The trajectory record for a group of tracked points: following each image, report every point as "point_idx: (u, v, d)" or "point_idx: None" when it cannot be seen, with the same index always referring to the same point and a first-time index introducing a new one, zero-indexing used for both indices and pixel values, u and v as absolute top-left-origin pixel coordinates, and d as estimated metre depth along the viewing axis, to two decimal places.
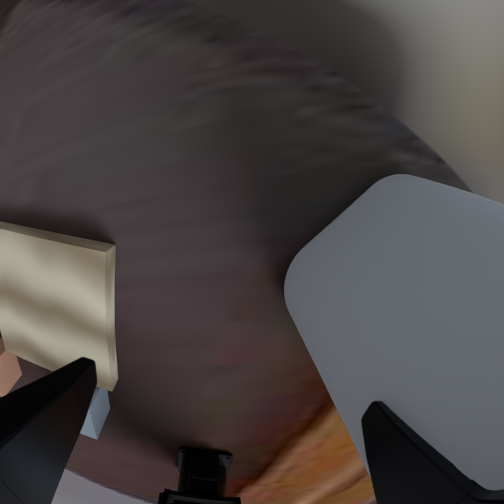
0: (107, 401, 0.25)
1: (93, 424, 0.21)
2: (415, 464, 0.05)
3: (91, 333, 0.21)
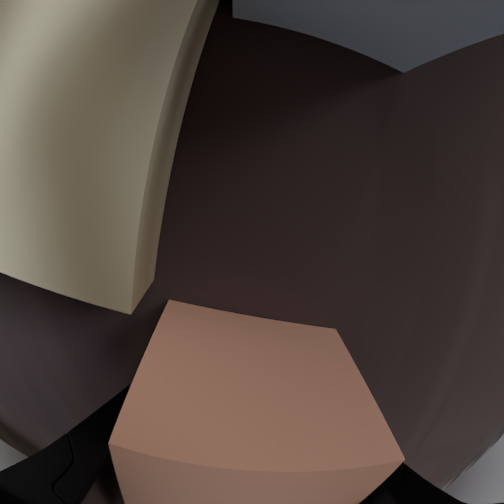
0: None
1: None
2: None
3: None
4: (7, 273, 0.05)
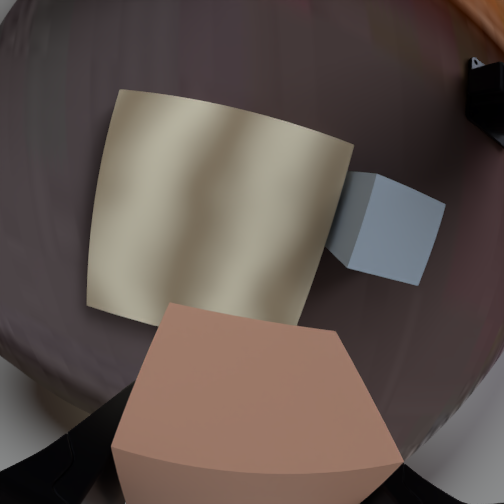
0: None
1: (412, 189, 0.13)
2: None
3: (237, 136, 0.15)
4: None
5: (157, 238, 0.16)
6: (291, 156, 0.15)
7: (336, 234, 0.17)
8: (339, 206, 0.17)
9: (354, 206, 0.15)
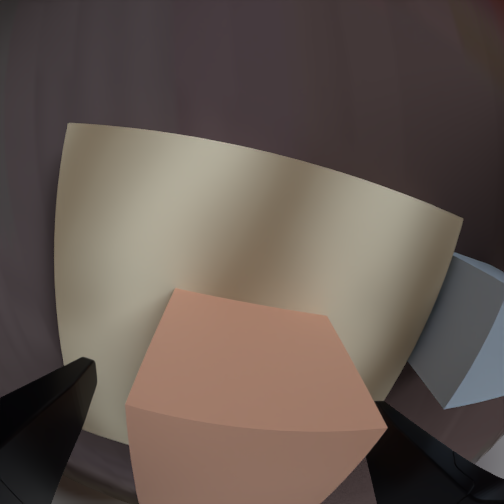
0: (479, 261, 0.11)
1: None
2: (415, 464, 0.05)
3: (294, 213, 0.08)
4: None
5: None
6: (382, 246, 0.09)
7: (423, 347, 0.10)
8: None
9: (461, 319, 0.08)
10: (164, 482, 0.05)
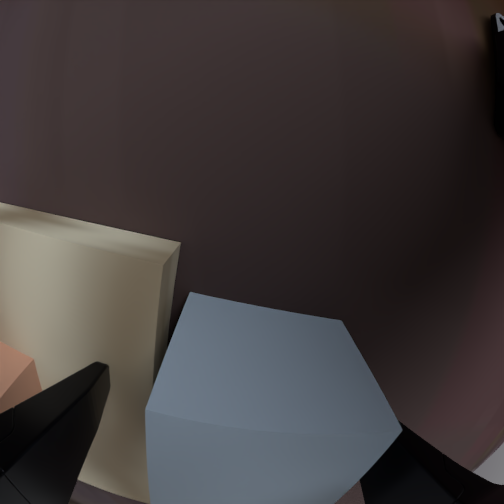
0: (296, 319, 0.09)
1: (285, 428, 0.04)
2: (403, 467, 0.05)
3: None
4: None
5: None
6: (49, 298, 0.07)
7: None
8: None
9: None
10: None
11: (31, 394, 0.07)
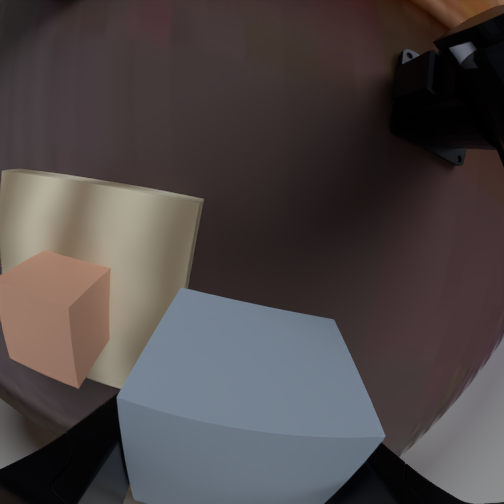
0: (286, 317, 0.09)
1: (256, 426, 0.04)
2: (359, 475, 0.05)
3: (84, 209, 0.14)
4: None
5: None
6: (133, 225, 0.15)
7: None
8: None
9: None
10: (11, 330, 0.11)
11: (105, 291, 0.15)
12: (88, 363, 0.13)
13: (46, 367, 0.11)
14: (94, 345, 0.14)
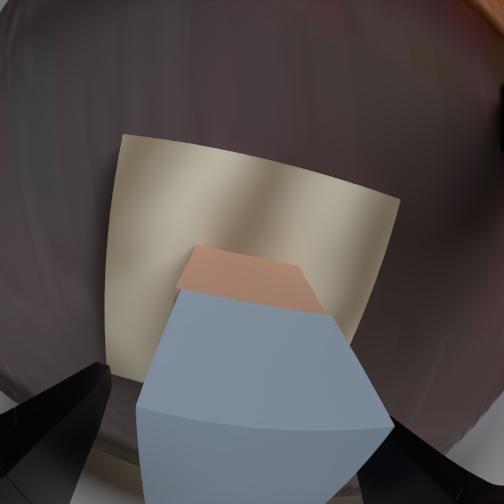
0: (287, 316, 0.09)
1: (275, 425, 0.04)
2: (402, 467, 0.05)
3: (273, 195, 0.13)
4: None
5: None
6: (335, 217, 0.14)
7: None
8: None
9: None
10: None
11: None
12: None
13: None
14: None
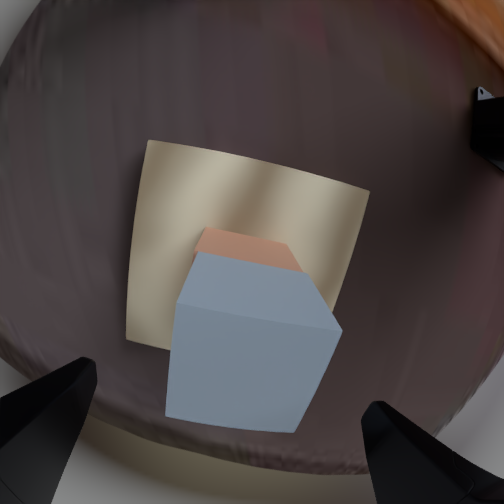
0: (273, 270, 0.13)
1: (260, 317, 0.08)
2: (415, 464, 0.05)
3: (266, 188, 0.17)
4: None
5: None
6: (315, 205, 0.17)
7: None
8: None
9: None
10: None
11: None
12: None
13: None
14: None
